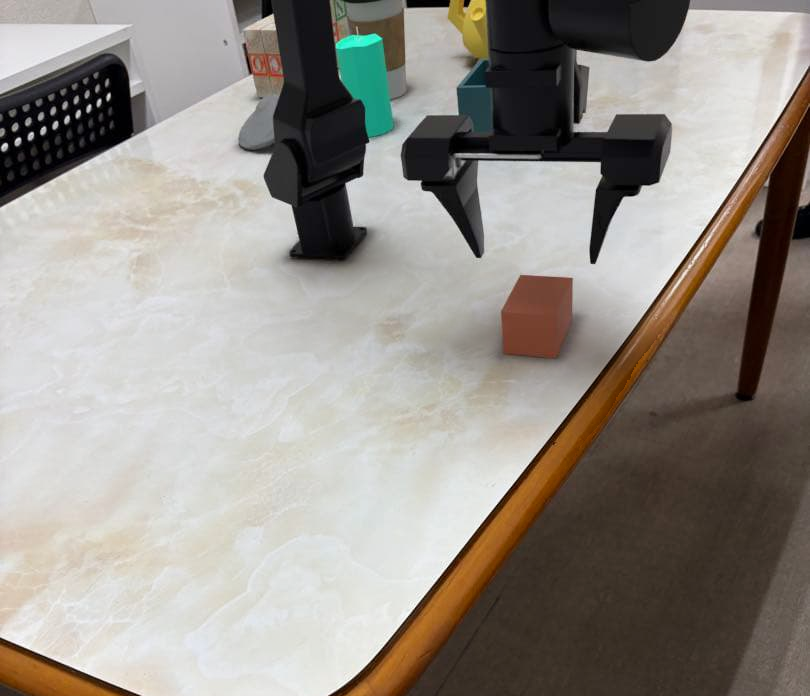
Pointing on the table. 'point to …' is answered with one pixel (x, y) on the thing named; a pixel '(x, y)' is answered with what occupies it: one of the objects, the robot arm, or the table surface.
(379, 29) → the coffee cup
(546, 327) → the reddish brown block
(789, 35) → the table surface
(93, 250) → the table surface
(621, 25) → the robot arm
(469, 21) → the teapot
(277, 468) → the table surface
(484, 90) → the open box
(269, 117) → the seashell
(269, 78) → the stack of blocks
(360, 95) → the candle
